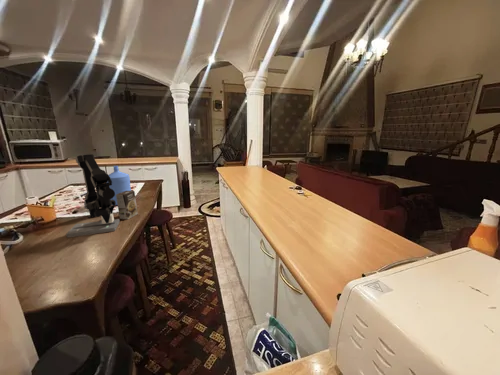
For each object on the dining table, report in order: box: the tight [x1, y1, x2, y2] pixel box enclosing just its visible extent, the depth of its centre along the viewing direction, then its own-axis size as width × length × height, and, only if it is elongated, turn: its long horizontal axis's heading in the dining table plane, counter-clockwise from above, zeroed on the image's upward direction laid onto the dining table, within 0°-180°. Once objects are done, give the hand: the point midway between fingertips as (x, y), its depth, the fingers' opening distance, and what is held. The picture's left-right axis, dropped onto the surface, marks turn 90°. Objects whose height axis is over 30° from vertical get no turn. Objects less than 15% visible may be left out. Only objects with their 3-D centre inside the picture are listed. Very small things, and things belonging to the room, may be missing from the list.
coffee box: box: [116, 190, 138, 220], centre depth 139 cm, size 9×6×16 cm
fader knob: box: [100, 213, 115, 224], centre depth 125 cm, size 4×5×5 cm
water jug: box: [107, 165, 132, 206], centre depth 164 cm, size 16×16×28 cm
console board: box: [65, 218, 120, 238], centre depth 123 cm, size 13×22×2 cm, turn 110°
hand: (108, 221), depth 125 cm, fingers closed on fader knob, 4 cm apart
